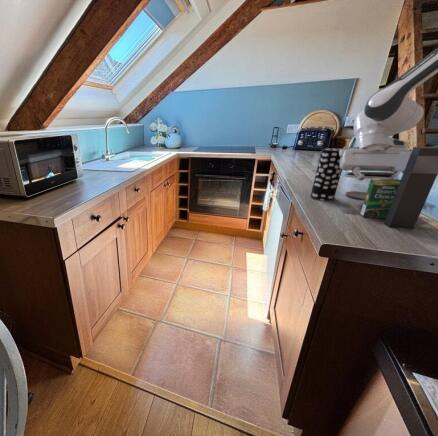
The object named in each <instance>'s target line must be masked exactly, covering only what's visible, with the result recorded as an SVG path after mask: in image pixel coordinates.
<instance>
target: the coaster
mask: <svg viewBox="0 0 438 436" xmlns="http://www.w3.org/2000/svg"><path fill="white" fill-rule="evenodd" d="M366 193H367V192H366V191H365V192H364V191H354V190H353V191H351V190H350V191H346V192H345V194H344V195H345V197H347V198H349V199H353V200H359V201H364V200H365V197H366Z"/></svg>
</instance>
